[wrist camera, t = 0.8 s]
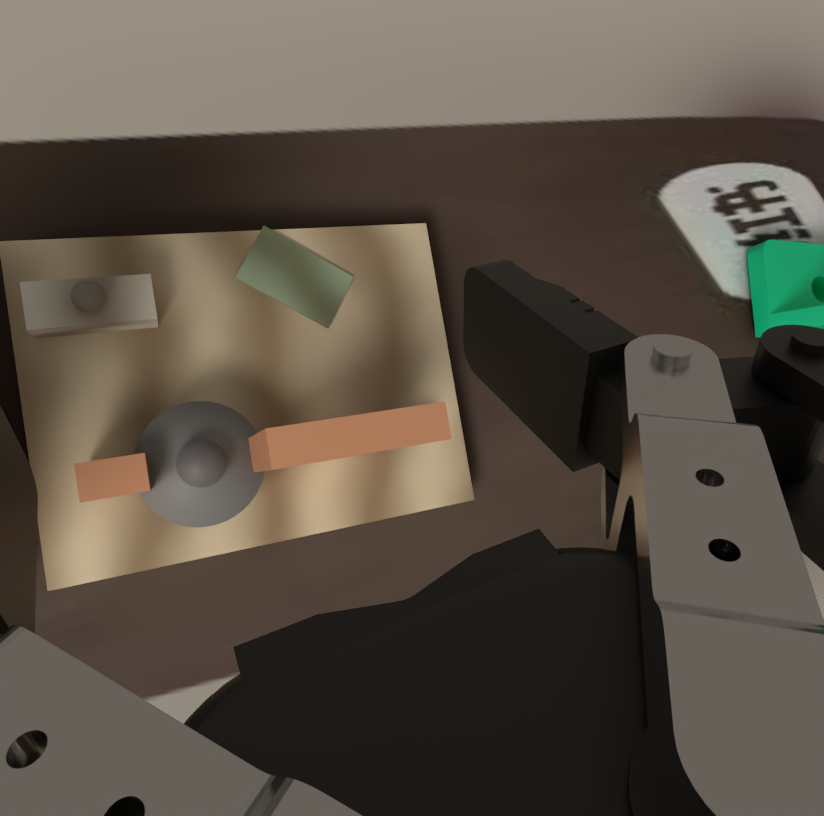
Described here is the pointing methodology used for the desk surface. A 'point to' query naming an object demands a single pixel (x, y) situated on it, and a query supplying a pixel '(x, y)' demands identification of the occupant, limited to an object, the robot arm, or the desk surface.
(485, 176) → the desk surface
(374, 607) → the robot arm
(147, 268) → the level stand
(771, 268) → the camera mount
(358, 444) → the orange grey panel fixture
